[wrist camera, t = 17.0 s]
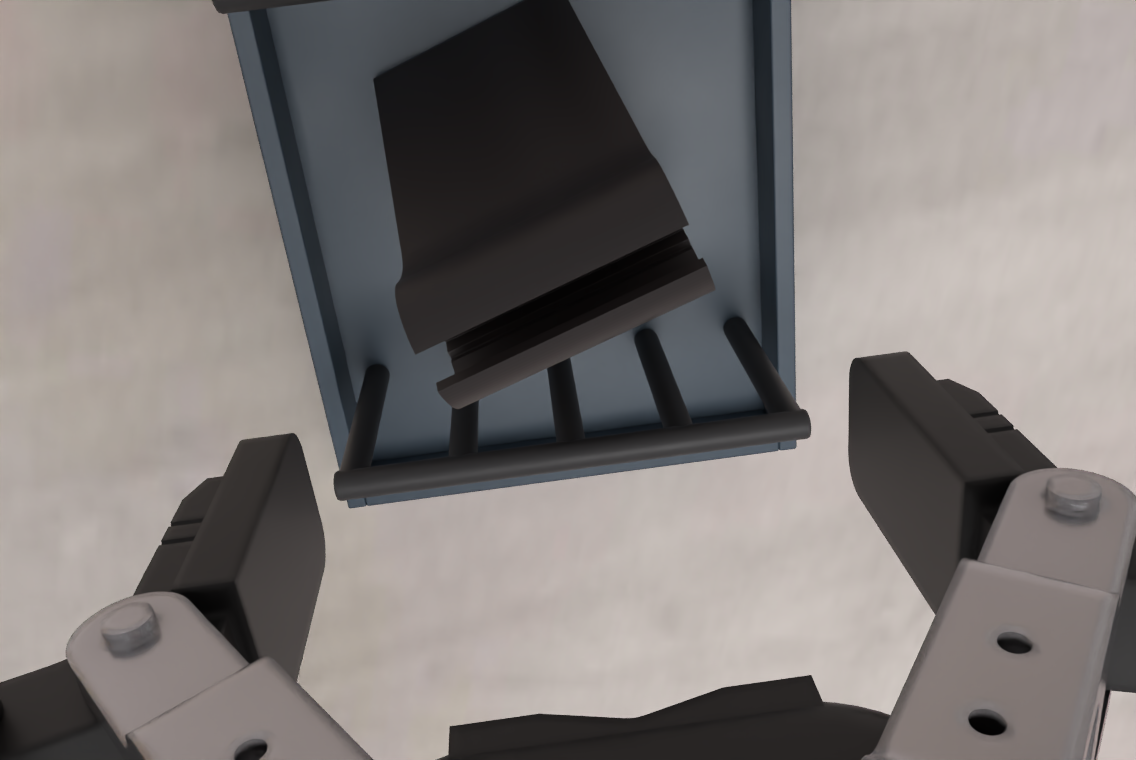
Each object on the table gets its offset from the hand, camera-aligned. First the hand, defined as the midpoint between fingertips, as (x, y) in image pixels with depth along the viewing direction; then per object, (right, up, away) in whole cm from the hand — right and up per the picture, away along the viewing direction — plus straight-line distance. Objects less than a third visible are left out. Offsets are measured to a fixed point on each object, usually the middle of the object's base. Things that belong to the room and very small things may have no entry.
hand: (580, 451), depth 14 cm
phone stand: (-1, +8, +16) cm, 18 cm away
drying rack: (-1, +8, +17) cm, 19 cm away
